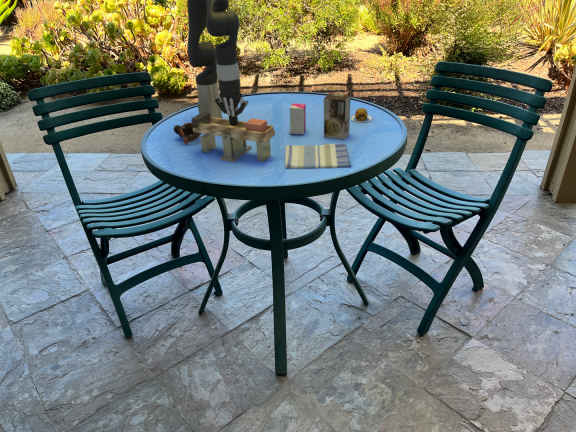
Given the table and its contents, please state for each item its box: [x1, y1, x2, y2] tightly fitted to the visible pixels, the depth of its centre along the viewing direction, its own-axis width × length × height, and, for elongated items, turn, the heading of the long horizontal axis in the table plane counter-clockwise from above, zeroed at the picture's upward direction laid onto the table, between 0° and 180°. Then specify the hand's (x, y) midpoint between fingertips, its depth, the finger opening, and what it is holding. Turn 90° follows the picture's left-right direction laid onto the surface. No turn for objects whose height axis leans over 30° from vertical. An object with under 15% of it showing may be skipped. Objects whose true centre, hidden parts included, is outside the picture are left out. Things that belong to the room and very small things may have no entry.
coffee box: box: [323, 92, 351, 140], centre depth 165 cm, size 9×6×16 cm
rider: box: [245, 118, 268, 134], centre depth 148 cm, size 6×5×4 cm
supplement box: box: [289, 102, 307, 136], centre depth 170 cm, size 6×6×12 cm
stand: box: [199, 133, 272, 163], centre depth 155 cm, size 26×13×10 cm, turn 66°
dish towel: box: [284, 143, 352, 170], centre depth 152 cm, size 17×24×3 cm
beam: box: [190, 112, 276, 143], centre depth 152 cm, size 30×8×5 cm, turn 66°
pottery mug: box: [173, 122, 203, 145], centre depth 170 cm, size 12×10×8 cm
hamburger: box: [350, 107, 373, 123], centre depth 183 cm, size 12×12×6 cm
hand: (233, 125), depth 152 cm, fingers closed
